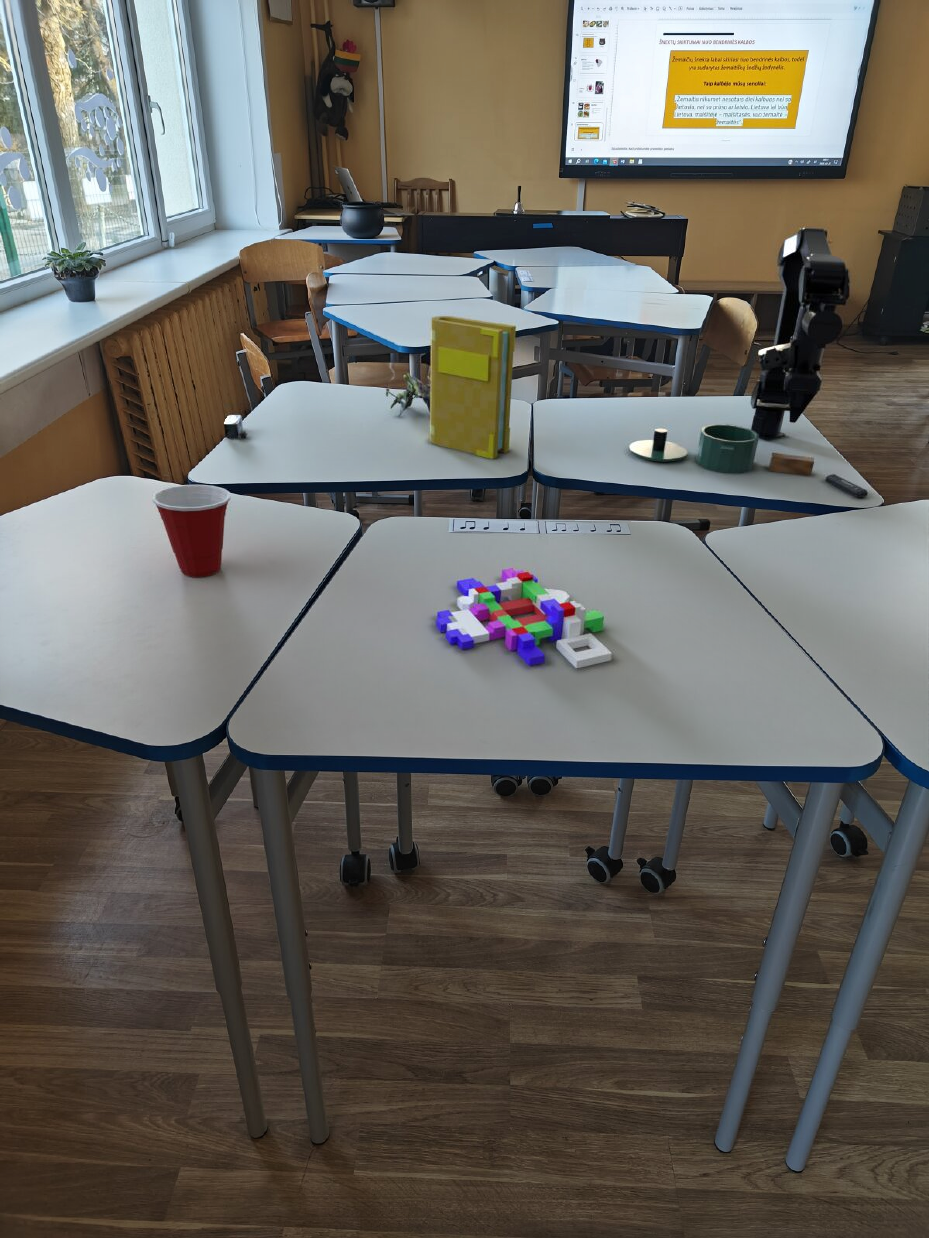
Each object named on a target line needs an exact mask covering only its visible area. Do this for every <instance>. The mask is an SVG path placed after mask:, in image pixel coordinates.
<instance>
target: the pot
mask: <svg viewBox="0 0 929 1238" xmlns="http://www.w3.org/2000/svg"><path fill="white" fill-rule="evenodd" d="M750 429H751V428H748V427H743V426H740V425H736V424H728V423H723V424H722V423H721V424H718V423H717V424H710V425H709V424H708V425H705V426H703V427H701V430H700V435H699V440H698V445H697V452H696V458H695V463H696V464H697V465H699V466H700V467H702V468H704V469H706V470H709V471H714V472H718V473H723V474H724V473H725V474H741V473H747V472H749V471H751V470H752V469H753V467H754V462H755V458H756V453H757V449H758V443H759V439H760V438H759V434H757V433H756V432H755V431H753V430H750Z"/></svg>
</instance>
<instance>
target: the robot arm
mask: <svg viewBox="0 0 929 1238" xmlns="http://www.w3.org/2000/svg"><path fill="white" fill-rule="evenodd" d="M776 263H777V265H776V266H777V267H778V274H777V275H778V278H779V280H780V284H781V286H782V288H783V291H782V295H781V301H780V306H779V313H778V317H777V322H776V323H777V324H776V329H775V336H774V340H773V346H770V347H766V348H762V349H759V350H758V351H757V352H758V353H757V356H758V361H759V368H760V371H761V372H760V377H759V380H756V383H755V385H754V387H753V390H752V392H751V395H750V397H751V398H750V407H751V408H752V409H753V410H754V414H753V418H752V421H751V422H752V423H751V428H749V429H750V430H753V431H755V432H756V433H757V434H759V439H763V440H765V441H772V440H775V439H779V438H783V437H786V434H787V433H785V432H783V431H782V426H783V422H784V417H785V412H789V421H788V422H789V423H791V424H795V423H797V421H798V420H799V418H800V417H801V415H803V413H804V411H805V410H806V408H807V407H808V406H809V405H810V403H811V402H812V401H813V400H814V398H815V397H816V395H817V394H818V393H819V392H820V391H821V386H822V383H823V380H822V376H821V374H820V373H819V372H820V371H821V367H822V364H821V362H822V359H823V358H822V357H823V354H824V349H826V346H827V345H829V344H831V343H833V342H835V341H836V340H837V339H838V338H839V337H840V335H841V333H842V330H843V320H842V318H841V316H840V315H839V314H838V313H837V312H836V309H837V306H846V304H847V301H848V300H849V298H850V292H851V291H850V289H851V287H850V286H851V285H850V284H851V275H850V274H849V268H847V264H846V262H845V261H844V260H843V258H841V257H838V256H834V255H833V254H832V250H831V248H830V245H829V242H828V230H827V229H824V228H822V227H806V226H805V227H802V228H799V230H798V232H797V233H796V234H794V235H792V236H789V237H788V238H786V239H784V241H783V243H782V245H781V247H780V249H779V252H778V255H777V262H776ZM818 371H819V372H818Z"/></svg>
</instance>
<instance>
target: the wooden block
mask: <svg viewBox="0 0 929 1238" xmlns="http://www.w3.org/2000/svg"><path fill="white" fill-rule="evenodd" d="M814 465H815V458H814V457H813V456H812V457H810V456H802V455H794V454H786V453H779V452H778V453H777V452H771V456H770V460H769V465H768V471H769V472H773V473H774V472H775V473H782V474H791V475H799V476H807V477H811V476H812V474H813V473H812V472H813V469H814Z"/></svg>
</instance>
